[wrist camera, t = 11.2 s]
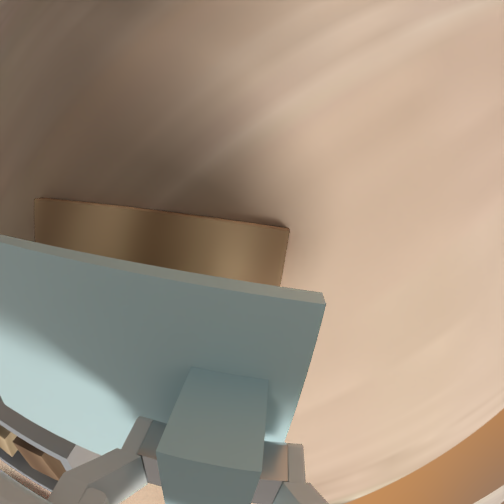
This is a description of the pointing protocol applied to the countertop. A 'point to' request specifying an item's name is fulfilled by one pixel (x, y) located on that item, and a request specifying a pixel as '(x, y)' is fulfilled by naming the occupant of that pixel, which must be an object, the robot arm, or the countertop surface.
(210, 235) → the mat
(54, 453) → the tub
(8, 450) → the block
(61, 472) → the block
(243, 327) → the lid
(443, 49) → the countertop surface
